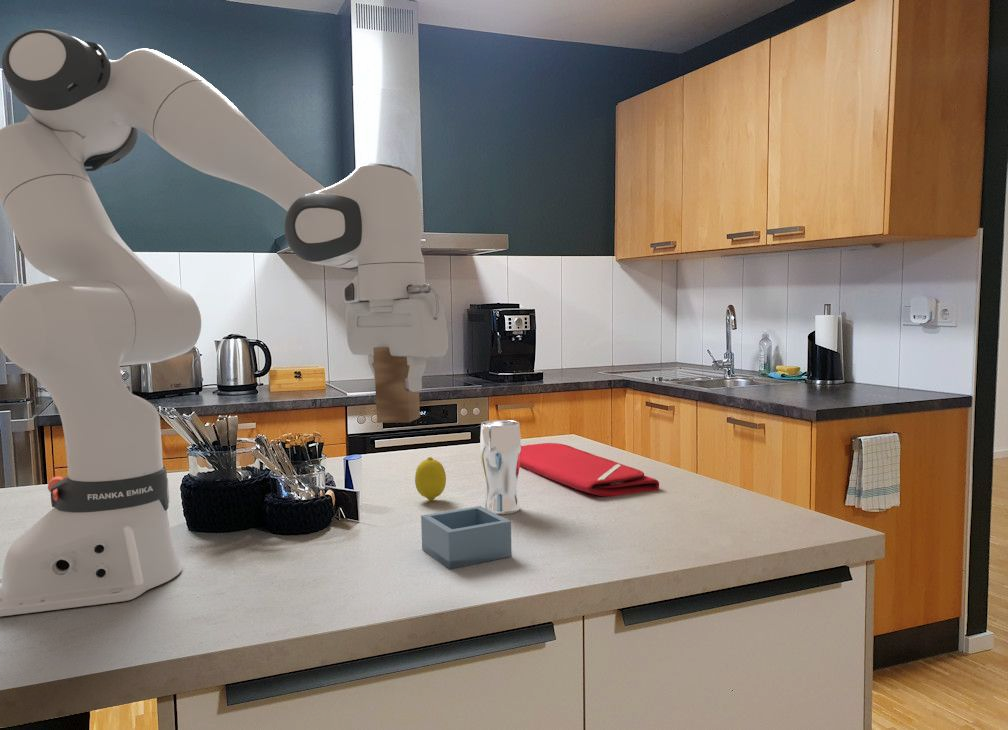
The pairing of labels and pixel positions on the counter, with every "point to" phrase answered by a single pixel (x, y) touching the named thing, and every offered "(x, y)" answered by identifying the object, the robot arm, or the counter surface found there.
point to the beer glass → (501, 464)
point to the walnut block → (393, 389)
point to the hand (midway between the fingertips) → (397, 389)
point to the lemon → (430, 478)
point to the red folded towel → (584, 470)
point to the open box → (466, 536)
